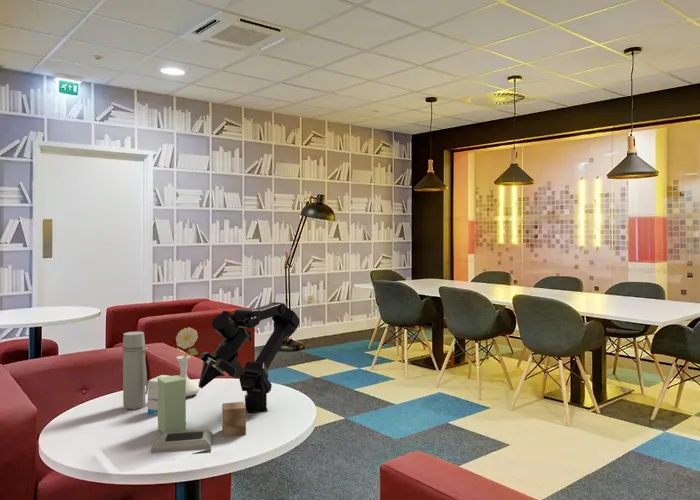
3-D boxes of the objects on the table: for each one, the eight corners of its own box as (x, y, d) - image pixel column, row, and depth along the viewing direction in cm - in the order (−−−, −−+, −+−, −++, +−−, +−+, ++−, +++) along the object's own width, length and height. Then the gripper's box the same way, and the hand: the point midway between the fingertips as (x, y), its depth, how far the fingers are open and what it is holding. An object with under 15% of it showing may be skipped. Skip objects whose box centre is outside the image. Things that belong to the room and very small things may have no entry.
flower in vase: (160, 396, 194) (159, 327, 194) (185, 388, 204) (184, 322, 203) (185, 402, 188) (184, 330, 187) (209, 394, 197) (209, 326, 197)
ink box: (161, 419, 171) (161, 381, 170) (146, 417, 172) (146, 380, 171) (175, 410, 179) (175, 375, 179) (161, 409, 180) (161, 374, 180)
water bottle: (117, 408, 180) (116, 334, 180) (134, 402, 187) (134, 330, 187) (138, 412, 177) (138, 336, 176) (155, 405, 184) (155, 332, 183)
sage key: (177, 424, 162) (177, 375, 162) (185, 430, 157) (185, 379, 157) (157, 429, 158) (157, 378, 158) (165, 435, 154) (165, 382, 153)
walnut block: (243, 431, 160) (243, 401, 160) (245, 438, 154) (245, 407, 154) (222, 434, 158) (222, 403, 158) (224, 441, 152) (224, 409, 152)
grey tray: (157, 431, 151) (212, 428, 154) (157, 444, 151) (212, 440, 154) (151, 444, 141) (210, 440, 144) (151, 458, 141) (210, 454, 144)
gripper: (261, 363, 165) (230, 408, 159) (238, 355, 180) (209, 395, 175) (235, 343, 160) (202, 388, 155) (213, 335, 176) (182, 376, 170)
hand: (199, 387), depth 164 cm, fingers closed
